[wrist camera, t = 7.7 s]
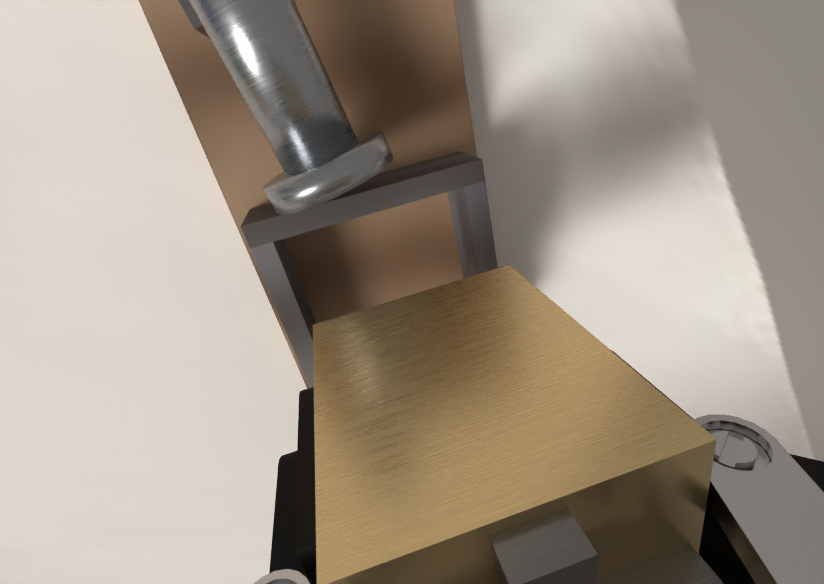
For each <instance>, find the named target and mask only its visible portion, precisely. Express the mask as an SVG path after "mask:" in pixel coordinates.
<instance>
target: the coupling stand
mask: <svg viewBox="0 0 824 584" xmlns="http://www.w3.org/2000/svg"><path fill="white" fill-rule="evenodd" d="M139 2H140V5H141V7H142V9H143V11H144V14H145V16H146V18H147V21H148V23H149V25H150V28H151V30H152V32H153V34H154V37H155V39H156V41H157V44H158V46H159V48H160V51H161V53H162V55H163V58H164V60H165V62H166V64H167V67H168V69H169V71H170V74H171V76H172V78H173V81H174V83H175V85H176V87H177V90H178V92H179V94H180V97H181V99H182V101H183V104H184V106H185V108H186V110H187V113H188V115H189V117H190V120H191V122H192V124H193V127H194V129H195V131H196V133H197V136H198V138H199V140H200V143H201V145H202V147H203V150H204V152H205V154H206V156H207V159H208V161H209V163H210V166H211V168H212V170H213V173H214V175H215V177H216V179H217V182H218V184H219V186H220V189H221V191H222V193H223V196H224V198H225V200H226V202H227V205H228V207H229V209H230V212H231V214H232V216H233V219H234V221H235V223H236V226H237V228H238V230H239V232H240V235H241V237H242V239H243V242H244V244H245V246H246V249H247V251H248V253H249V255H250V258H251V260H252V262H253V265H254V267H255V269H256V272H257V274H258V276H259V278H260V281H261V283H262V285H263V288H264V290H265V292H266V295H267V297H268V299H269V301H270V304H271V306H272V308H273V311H274V313H275V315H276V318H277V320H278V322H279V324H280V327H281V329H282V331H283V334H284V336H285V338H286V341H287V343H288V345H289V347H290V350H291V352H292V354H293V357H294V359H295V361H296V364H297V366H298V368H299V370H300V373H301V375H302V377H303V380H304V382H305V384H306V387H307V389H309V388H312V387H314V371H313V325H314V324H318V323H321V322H324V321H327V320H331V319H334V318H337V317H340V316H344V315H347V314H350V313H353V312H357V311H360V310H363V309H366V308H370V307H373V306H376V305H379V304H383V303H386V302H389V301H392V300H396V299H399V298H402V297H405V296H409V295H412V294H415V293H418V292H422V291H425V290H428V289H431V288H435V287H438V286H441V285H444V284H448V283H451V282H454V281H457V280H461V279H464V278H467V277H470V276H474V275H477V274H480V273H483V272H487V271H490V270H493V269H496V268H497V261H496V254H495V247H494V241H493V234H492V227H491V220H490V213H489V206H488V199H487V192H486V185H485V178H484V171H483V164H482V159H480V158H477V155H476V149H475V142H474V135H473V128H472V122H471V115H470V108H469V102H468V95H467V88H466V82H465V75H464V68H463V61H462V55H461V48H460V41H459V35H458V28H457V21H456V14H455V8H454V1H453V0H295V4H296V6H297V8H298V10H299V12H300V15H301V17H302V19H303V21H304V23H305V26H306V28H307V30H308V32H309V34H310V36H311V39H312V41H313V43H314V45H315V47H316V50H317V52H318V54H319V56H320V58H321V61H322V63H323V65H324V67H325V69H326V72H327V74H328V76H329V78H330V80H331V83H332V85H333V87H334V89H335V91H336V94H337V96H338V98H339V100H340V102H341V105H342V107H343V109H344V111H345V113H346V116H347V118H348V120H349V122H350V124H351V127H352V129H353V131H354V133H355V135H356V136H359V135H362V134H365V133H368V132H371V131H376V130H382V131H383V132H384V135H385V137H386V140H387V142H388V144H389V147H390V149H391V151H392V154H393V156H394V158H393V161H392V162H391V163H390V164H389V165H388V166H387V167H386V168H385V169H383V170H382V171H381V172H379V173H378V174H377V175H375V176H374V177H372V178H371V179H369V180H367V181H366V182H364V183H362V184H361V185H359V186H357V187H355V188H353V189H351V190H350V191H348V192H346V193H344V194H342V195H340V196H338V197H335V198H333V199H331V200H329V201H327V202H324V203H322V204H319V205H317V206H314V207H312V208H309V209H306V210H303V211H300V212H296V213H292V214H287V215H280V214H278V213H277V212H276V210H275V209H274V207H273V205H272V204H271V202H270V200H269V198H268V197H267V195H266V193H265V192H264V190H263V187H264V185H265V184H266V183H268V182H269V181H270V180H271V179H273V178H274V177H276V176H277V175H279V174H280V173H282V172H284V170H283V168H282V167H281V165H280V163H279V161H278V159H277V158H276V156H275V154H274V152H273V151H272V149H271V147H270V145H269V143H268V142H267V140H266V138H265V136H264V134H263V133H262V131H261V129H260V127H259V125H258V124H257V122H256V120H255V118H254V116H253V115H252V113H251V111H250V109H249V108H248V106H247V104H246V102H245V100H244V99H243V97H242V95H241V93H240V91H239V90H238V88H237V86H236V84H235V82H234V81H233V79H232V77H231V75H230V73H229V72H228V70H227V68H226V66H225V65H224V63H223V61H222V59H221V57H220V56H219V54H218V52H217V50H216V48H215V47H214V45H213V43H212V41H211V39H209V38H208V37H206V36H205V35H203V34H201V33H200V32H198V31H197V30H195V29H194V28H193V26H192V24H191V22H190V20H189V19H188V17H187V15H186V13H185V12H184V10H183V8H182V6H181V5H180V3H179V1H178V0H139Z"/></svg>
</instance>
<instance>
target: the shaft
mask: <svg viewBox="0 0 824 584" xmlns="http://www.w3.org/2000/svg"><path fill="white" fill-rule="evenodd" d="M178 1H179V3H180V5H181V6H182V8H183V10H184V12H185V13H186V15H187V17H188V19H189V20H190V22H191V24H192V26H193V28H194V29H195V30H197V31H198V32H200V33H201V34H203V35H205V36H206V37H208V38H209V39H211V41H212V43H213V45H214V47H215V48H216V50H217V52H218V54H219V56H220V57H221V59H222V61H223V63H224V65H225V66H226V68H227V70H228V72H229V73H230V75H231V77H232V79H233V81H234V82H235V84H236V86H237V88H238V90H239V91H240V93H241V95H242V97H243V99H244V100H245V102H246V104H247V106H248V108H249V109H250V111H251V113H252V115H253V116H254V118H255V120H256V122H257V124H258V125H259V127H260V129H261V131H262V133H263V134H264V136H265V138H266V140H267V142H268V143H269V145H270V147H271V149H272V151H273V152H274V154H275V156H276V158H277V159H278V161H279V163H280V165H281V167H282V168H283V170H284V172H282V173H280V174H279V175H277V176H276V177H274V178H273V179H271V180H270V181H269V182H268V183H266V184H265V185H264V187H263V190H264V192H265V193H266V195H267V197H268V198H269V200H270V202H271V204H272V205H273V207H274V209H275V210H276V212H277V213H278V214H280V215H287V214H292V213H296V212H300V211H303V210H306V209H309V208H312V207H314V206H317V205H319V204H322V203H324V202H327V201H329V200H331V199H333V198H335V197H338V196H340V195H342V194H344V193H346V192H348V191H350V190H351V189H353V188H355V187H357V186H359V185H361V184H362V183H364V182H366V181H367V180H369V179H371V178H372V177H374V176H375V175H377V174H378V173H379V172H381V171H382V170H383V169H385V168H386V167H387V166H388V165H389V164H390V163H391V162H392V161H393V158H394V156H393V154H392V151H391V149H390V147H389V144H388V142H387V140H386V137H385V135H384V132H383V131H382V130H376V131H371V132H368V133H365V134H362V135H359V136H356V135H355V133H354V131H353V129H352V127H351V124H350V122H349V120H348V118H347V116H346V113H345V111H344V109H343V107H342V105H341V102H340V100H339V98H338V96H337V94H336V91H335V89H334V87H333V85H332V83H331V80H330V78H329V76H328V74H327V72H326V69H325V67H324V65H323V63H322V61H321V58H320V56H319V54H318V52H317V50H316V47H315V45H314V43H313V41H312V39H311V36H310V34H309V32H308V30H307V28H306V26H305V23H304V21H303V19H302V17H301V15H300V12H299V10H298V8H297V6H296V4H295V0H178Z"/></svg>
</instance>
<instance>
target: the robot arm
mask: <svg viewBox="0 0 824 584" xmlns="http://www.w3.org/2000/svg"><path fill="white" fill-rule="evenodd" d="M611 351H612V350H611ZM612 352H613V351H612ZM613 353H615V352H613ZM615 354H616V353H615ZM616 355H617V354H616ZM617 356H618V355H617ZM618 357H619V356H618ZM619 358H620V357H619ZM621 359H622V358H621ZM622 360H623V359H622ZM623 361H624V360H623ZM624 362H625V361H624ZM625 363H626V362H625ZM626 364H628V363H626ZM628 365H629V364H628ZM629 366H630V365H629ZM630 367H631V366H630ZM631 368H632V367H631ZM632 369H634V368H632ZM634 370H635V369H634ZM635 371H636V370H635ZM636 372H637V371H636ZM637 373H638V372H637ZM638 374H639V373H638ZM640 375H641V374H640ZM641 376H642V375H641ZM642 377H643V376H642ZM643 378H644V377H643ZM644 379H645V378H644ZM645 380H647V379H645ZM647 381H648V380H647ZM648 382H649V381H648ZM649 383H650V382H649ZM650 384H651V383H650ZM651 385H653V384H651ZM653 386H654V385H653ZM654 387H655V386H654ZM655 388H656V387H655ZM656 389H657V388H656ZM657 390H658V389H657ZM659 391H660V390H659ZM660 392H661V391H660ZM661 393H662V392H661ZM662 394H663V393H662ZM663 395H664V394H663ZM665 396H666V395H665ZM666 397H667V396H666ZM667 398H668V397H667ZM668 399H669V398H668ZM669 400H670V399H669ZM670 401H671V400H670ZM672 402H673V401H672ZM673 403H674V402H673ZM674 404H675V403H674ZM675 405H676V404H675ZM676 406H677V405H676ZM678 407H679V406H678ZM679 408H680V407H679ZM680 409H681V408H680ZM681 410H682V409H681ZM682 411H683V410H682ZM684 412H685V411H684ZM685 413H686V412H685ZM686 414H687V413H686ZM687 415H688V414H687ZM688 416H689V415H688ZM689 417H690V416H689ZM691 418H692V417H691ZM692 419H693V418H692ZM693 420H694V419H693ZM694 421H695V422H697V423H698V424H699V425H700V426H701V427H703V428H704V429H705V430H706V431H707V432H708V433H710V434H711V435H712V436H713V437H714V438H716V439H717V442H716V448H715V454H714V460H713V467H712V473H711V479H710V485H709V491H708V498H707V504H706V510H705V516H704V523H703V529H702V535H701V541H700V548H699V555H700V556H701V557H702V559H703V560H704V561H705V562H706V563H707V564H708V566H709V567H710V568H711V569H712V570H713V572H714V573H715V574H716V575H717V576H718V577H719V579H720V580H721V581H722V582H723V583H724V584H824V462H822V461H818V460H814V459H809V458H805V457H800V456H796V455H792V454H789V453H788V452H787V451H786V450H785V449H784V448H783V446H782V445H781V444H780V443H779V442H778V441H777V440H776V439H775V438H774V437H773V436H772V435H771V434H769V433H768V432H767V431H766V430H764V429H763V428H761V427H759V426H757V425H756V424H754V423H752V422H749V421H746V420H744V419H741V418H738V417H733V416H727V415H707V416H703V417H698V418H697V419H695V420H694ZM254 584H317V570H316V503H315V437H314V387H312V388H309V389H305V390H302V391H300V394H299V420H298V451H295V452H292V453H289V454H286V455H283V456H281V458H280V459H279V465H278V476H277V489H276V501H275V513H274V525H273V537H272V549H271V562H270V574H268V575H265V576H263V577H262V578H260V579H259V580H258V581H257V582H255V583H254Z"/></svg>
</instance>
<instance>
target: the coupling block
mask: <svg viewBox="0 0 824 584" xmlns="http://www.w3.org/2000/svg"><path fill="white" fill-rule="evenodd" d="M313 371H314V437H315V503H316V570H317V584H724V583H723V582H722V581H721V580H720V579H719V577H718V576H717V575H716V574H715V573H714V572H713V570H712V569H711V568H710V567H709V566H708V564H707V563H706V562H705V561H704V560H703V559H702V557H701V556H700V555H699V548H700V541H701V535H702V529H703V523H704V516H705V510H706V504H707V498H708V491H709V485H710V479H711V473H712V467H713V460H714V454H715V448H716V442H717V439H716V438H714V437H713V436H712V435H711V434H710V433H708V432H707V431H706V430H705V429H704V428H703V427H701V426H700V425H699V424H698V423H697V422H695V421H694V420H693V419H692V418H691V417H689V416H688V415H687V414H686V413H685V412H684V411H682V410H681V409H680V408H679V407H678V406H676V405H675V404H674V403H673V402H672V401H670V400H669V399H668V398H667V397H666V396H665V395H663V394H662V393H661V392H660V391H659V390H657V389H656V388H655V387H654V386H653V385H651V384H650V383H649V382H648V381H647V380H645V379H644V378H643V377H642V376H641V375H640V374H638V373H637V372H636V371H635V370H634V369H632V368H631V367H630V366H629V365H628V364H626V363H625V362H624V361H623V360H622V359H621V358H619V357H618V356H617V355H616V354H615V353H613V352H612V351H611V350H610V349H609V348H607V347H606V346H605V345H604V344H603V343H602V342H600V341H599V340H598V339H597V338H596V337H594V336H593V335H592V334H591V333H590V332H588V331H587V330H586V329H585V328H584V327H583V326H581V325H580V324H579V323H578V322H577V321H575V320H574V319H573V318H572V317H571V316H569V315H568V314H567V313H566V312H565V311H564V310H562V309H561V308H560V307H559V306H558V305H556V304H555V303H554V302H553V301H552V300H550V299H549V298H548V297H547V296H546V295H545V294H543V293H542V292H541V291H540V290H539V289H537V288H536V287H535V286H534V285H533V284H531V283H530V282H529V281H528V280H527V279H526V278H524V277H523V276H522V275H521V274H520V273H518V272H517V271H516V270H515V269H514V268H512V267H511V266H510V265H506V266H503V267H500V268H496V269H493V270H490V271H487V272H483V273H480V274H477V275H474V276H470V277H467V278H464V279H461V280H457V281H454V282H451V283H448V284H444V285H441V286H438V287H435V288H431V289H428V290H425V291H422V292H418V293H415V294H412V295H409V296H405V297H402V298H399V299H396V300H392V301H389V302H386V303H383V304H379V305H376V306H373V307H370V308H366V309H363V310H360V311H357V312H353V313H350V314H347V315H344V316H340V317H337V318H334V319H331V320H327V321H324V322H321V323H318V324H314V325H313Z"/></svg>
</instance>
